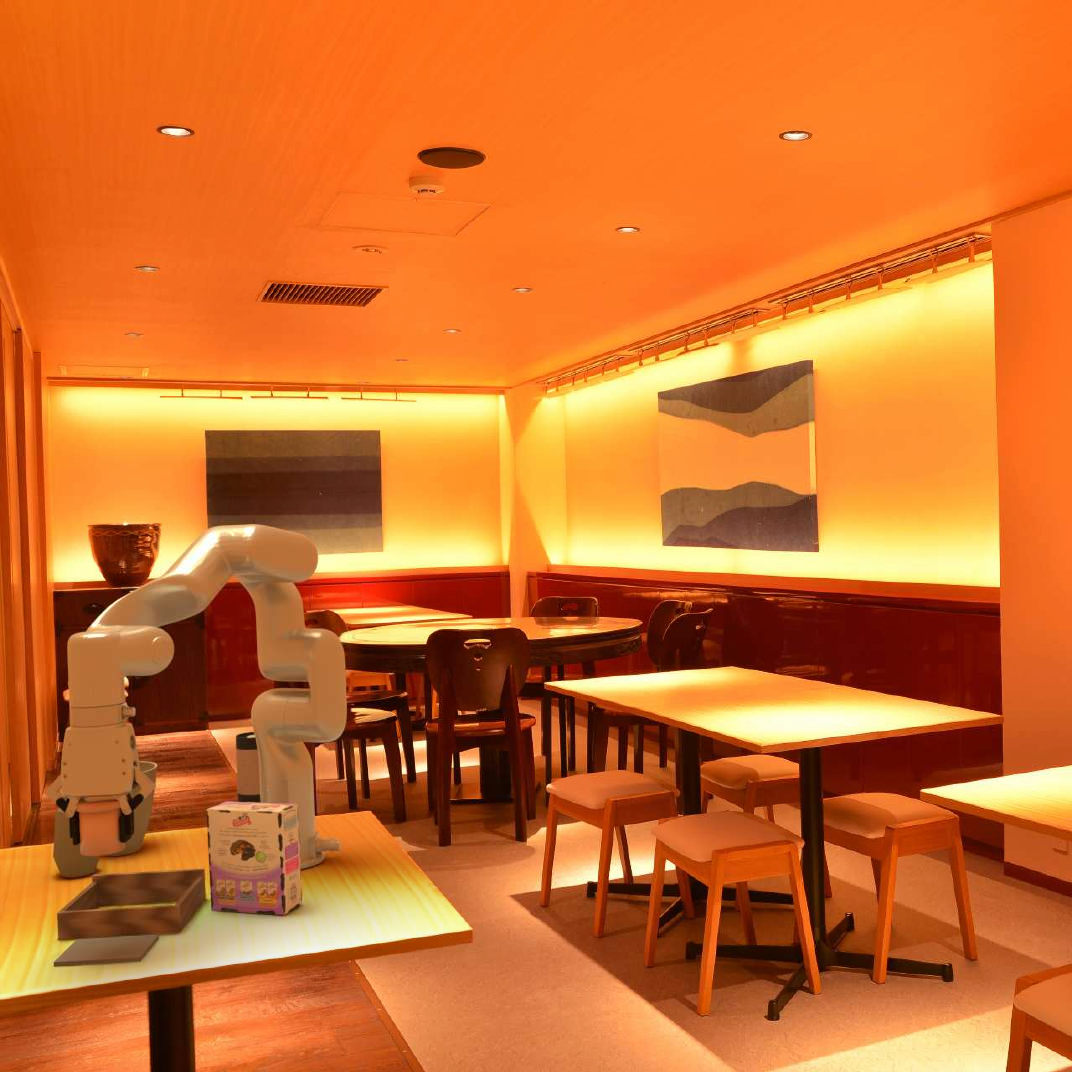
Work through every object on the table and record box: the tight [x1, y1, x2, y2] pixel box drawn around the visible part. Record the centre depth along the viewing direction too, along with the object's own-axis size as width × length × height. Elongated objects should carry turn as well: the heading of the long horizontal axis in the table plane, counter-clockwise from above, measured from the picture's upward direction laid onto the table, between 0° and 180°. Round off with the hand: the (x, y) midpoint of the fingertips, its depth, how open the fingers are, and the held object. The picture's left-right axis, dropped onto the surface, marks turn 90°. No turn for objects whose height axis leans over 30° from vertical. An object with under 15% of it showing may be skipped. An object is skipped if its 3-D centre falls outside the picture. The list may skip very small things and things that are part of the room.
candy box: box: [205, 800, 303, 916], centre depth 179 cm, size 14×6×16 cm, turn 71°
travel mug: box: [235, 731, 261, 803], centre depth 226 cm, size 8×8×20 cm
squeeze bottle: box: [52, 794, 101, 879], centre depth 203 cm, size 8×8×18 cm
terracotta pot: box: [76, 796, 125, 857], centre depth 162 cm, size 7×7×7 cm
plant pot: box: [103, 760, 158, 857], centre depth 217 cm, size 15×15×16 cm
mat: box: [53, 934, 160, 967], centre depth 162 cm, size 12×9×1 cm
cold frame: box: [56, 868, 207, 941], centre depth 177 cm, size 18×16×5 cm
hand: (102, 840), depth 162 cm, fingers closed on terracotta pot, 6 cm apart
